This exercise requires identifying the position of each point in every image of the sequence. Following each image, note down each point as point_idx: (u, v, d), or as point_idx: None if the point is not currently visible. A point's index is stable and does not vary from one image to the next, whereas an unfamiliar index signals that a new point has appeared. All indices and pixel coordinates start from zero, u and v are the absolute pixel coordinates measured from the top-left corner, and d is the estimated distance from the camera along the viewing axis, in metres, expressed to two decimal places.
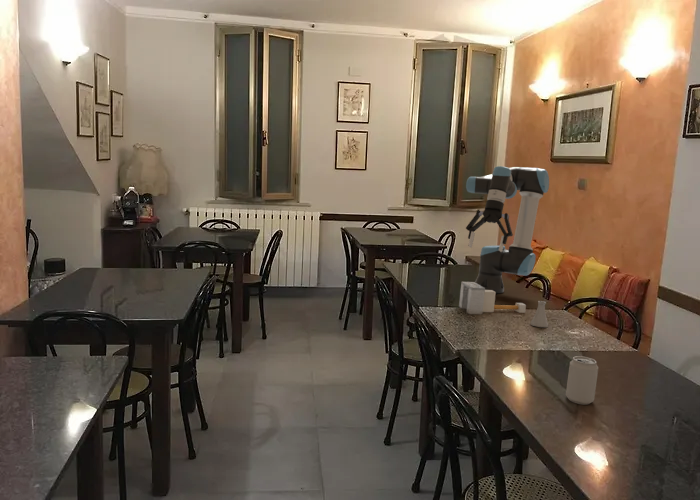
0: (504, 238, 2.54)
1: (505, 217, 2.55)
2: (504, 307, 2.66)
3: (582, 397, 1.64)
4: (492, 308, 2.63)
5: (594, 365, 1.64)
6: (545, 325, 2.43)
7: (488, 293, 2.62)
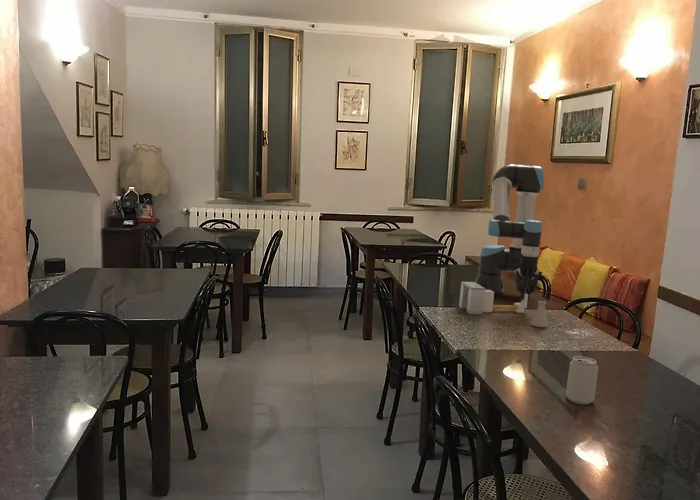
0: (528, 295, 2.67)
1: (538, 275, 2.66)
2: (503, 307, 2.65)
3: (582, 397, 1.64)
4: (491, 308, 2.63)
5: (594, 365, 1.64)
6: (545, 325, 2.43)
7: (487, 293, 2.62)
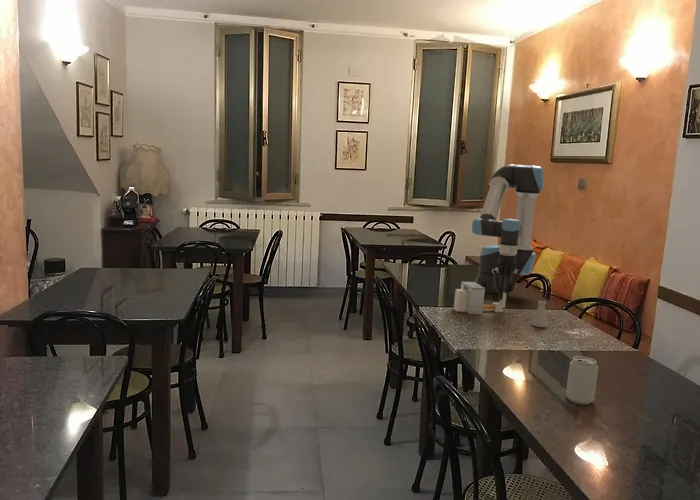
0: (506, 295, 2.65)
1: (517, 274, 2.64)
2: None
3: (582, 397, 1.64)
4: None
5: (594, 365, 1.64)
6: (545, 325, 2.43)
7: (464, 292, 2.59)
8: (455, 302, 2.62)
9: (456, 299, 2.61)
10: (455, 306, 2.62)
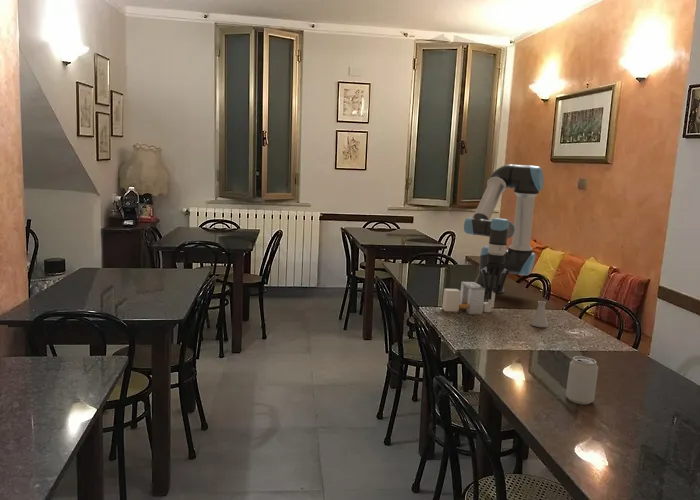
0: (495, 294, 2.64)
1: (506, 274, 2.63)
2: None
3: (582, 397, 1.64)
4: (457, 307, 2.60)
5: (594, 365, 1.64)
6: (545, 325, 2.43)
7: (453, 292, 2.58)
8: (443, 302, 2.61)
9: (444, 299, 2.60)
10: (443, 306, 2.61)
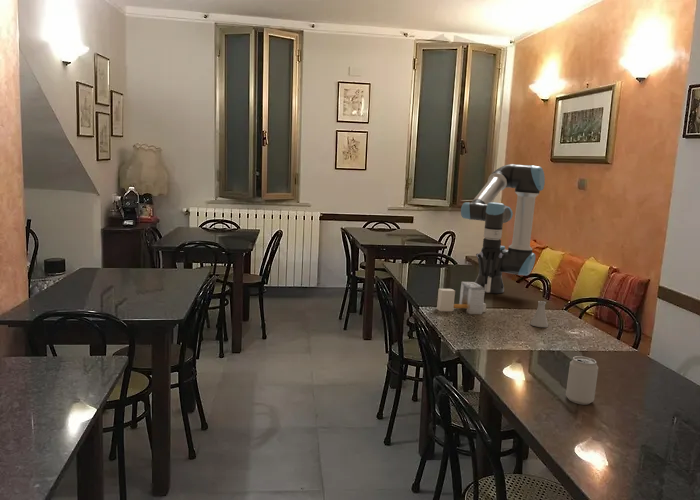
0: (491, 279, 2.63)
1: (502, 258, 2.61)
2: (464, 306, 2.62)
3: (582, 397, 1.64)
4: (451, 307, 2.59)
5: (594, 365, 1.64)
6: (545, 325, 2.43)
7: (447, 292, 2.58)
8: (438, 302, 2.61)
9: (439, 299, 2.60)
10: (438, 306, 2.61)
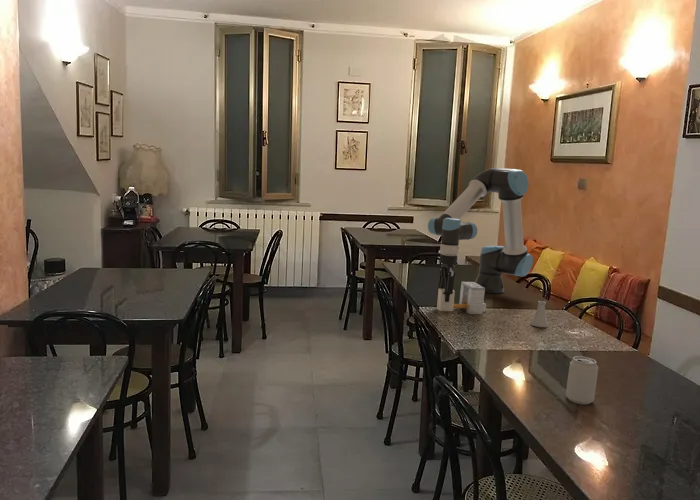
0: None
1: None
2: (464, 306, 2.62)
3: (582, 397, 1.64)
4: (451, 307, 2.60)
5: (594, 365, 1.64)
6: (545, 325, 2.43)
7: None
8: (438, 301, 2.61)
9: (439, 298, 2.60)
10: (438, 306, 2.61)
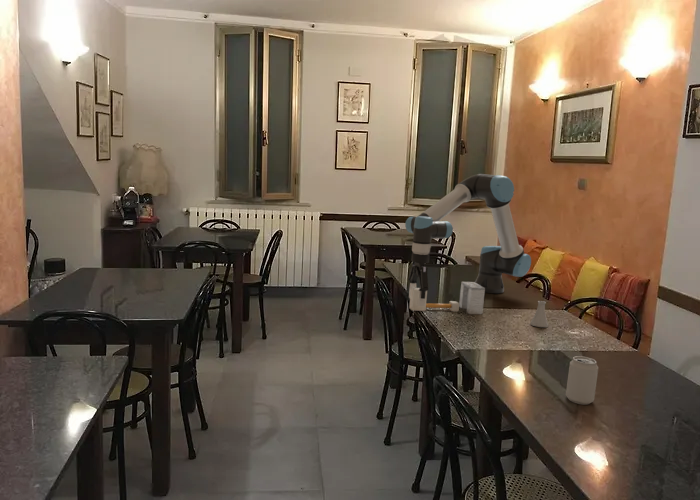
0: None
1: None
2: (437, 305, 2.59)
3: (582, 397, 1.64)
4: (424, 306, 2.57)
5: (594, 365, 1.64)
6: (545, 325, 2.43)
7: None
8: (410, 301, 2.58)
9: (411, 298, 2.57)
10: (410, 305, 2.58)
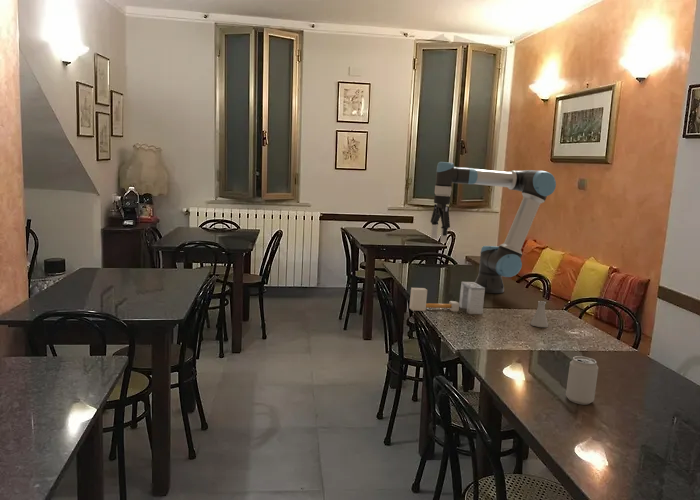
0: None
1: None
2: (437, 305, 2.59)
3: (582, 397, 1.64)
4: (424, 306, 2.57)
5: (594, 365, 1.64)
6: (545, 325, 2.43)
7: (419, 291, 2.56)
8: (410, 301, 2.58)
9: (411, 298, 2.57)
10: (410, 305, 2.58)
